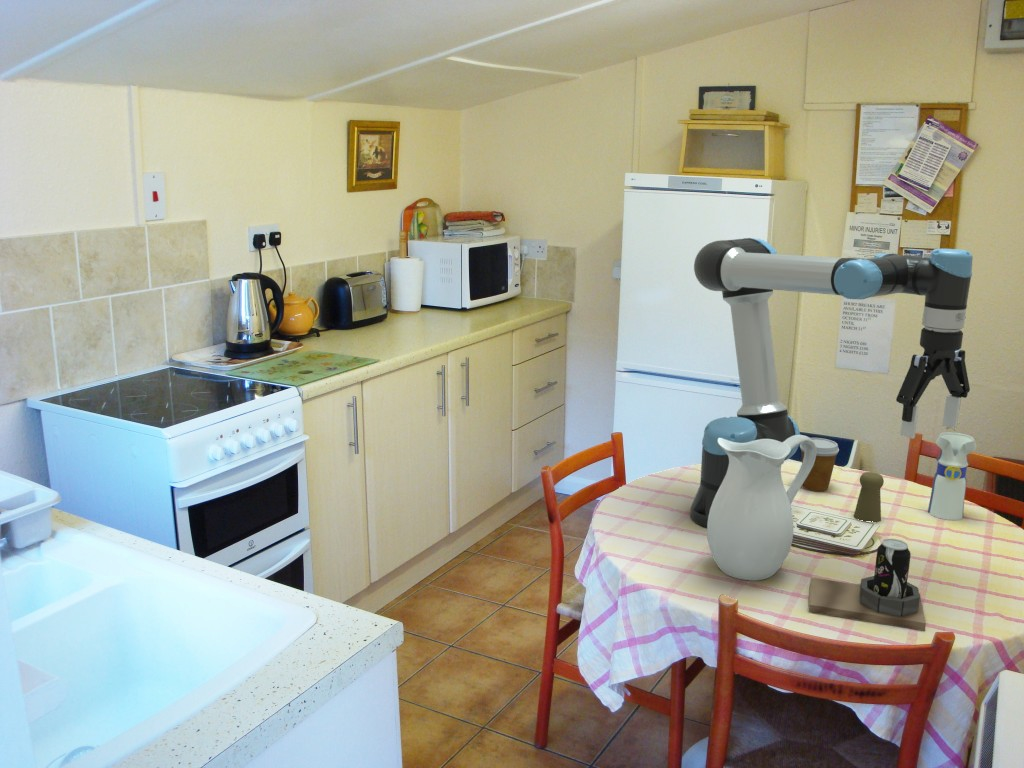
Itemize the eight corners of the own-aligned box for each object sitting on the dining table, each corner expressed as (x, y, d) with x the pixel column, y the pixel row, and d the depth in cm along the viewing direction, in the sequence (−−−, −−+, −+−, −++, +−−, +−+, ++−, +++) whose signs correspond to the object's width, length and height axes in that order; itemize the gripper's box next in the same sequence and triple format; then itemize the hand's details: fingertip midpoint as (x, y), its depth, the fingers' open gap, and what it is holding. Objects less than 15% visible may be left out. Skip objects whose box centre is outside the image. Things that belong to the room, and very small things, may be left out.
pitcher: (737, 594, 177) (749, 457, 170) (688, 559, 192) (696, 432, 185) (833, 573, 187) (848, 443, 180) (779, 541, 202) (790, 420, 195)
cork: (876, 513, 218) (882, 469, 216) (884, 523, 213) (889, 478, 210) (850, 512, 219) (855, 468, 216) (857, 522, 213) (862, 477, 210)
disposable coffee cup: (834, 483, 238) (839, 439, 235) (834, 496, 229) (839, 450, 226) (796, 479, 241) (800, 435, 238) (795, 491, 232) (799, 446, 229)
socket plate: (808, 611, 171) (810, 589, 170) (810, 584, 182) (812, 563, 181) (924, 630, 165) (927, 607, 163) (919, 600, 176) (921, 579, 174)
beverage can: (900, 612, 168) (908, 552, 165) (868, 604, 171) (875, 544, 168) (906, 600, 172) (914, 541, 169) (875, 592, 175) (881, 534, 172)
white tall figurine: (968, 523, 213) (983, 420, 207) (928, 517, 216) (941, 416, 210) (964, 510, 221) (978, 411, 215) (925, 505, 224) (939, 407, 217)
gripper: (919, 337, 170) (905, 446, 176) (998, 326, 183) (983, 427, 188) (884, 330, 177) (872, 435, 182) (963, 320, 189) (949, 418, 194)
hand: (928, 432), depth 185 cm, fingers open, 13 cm apart
